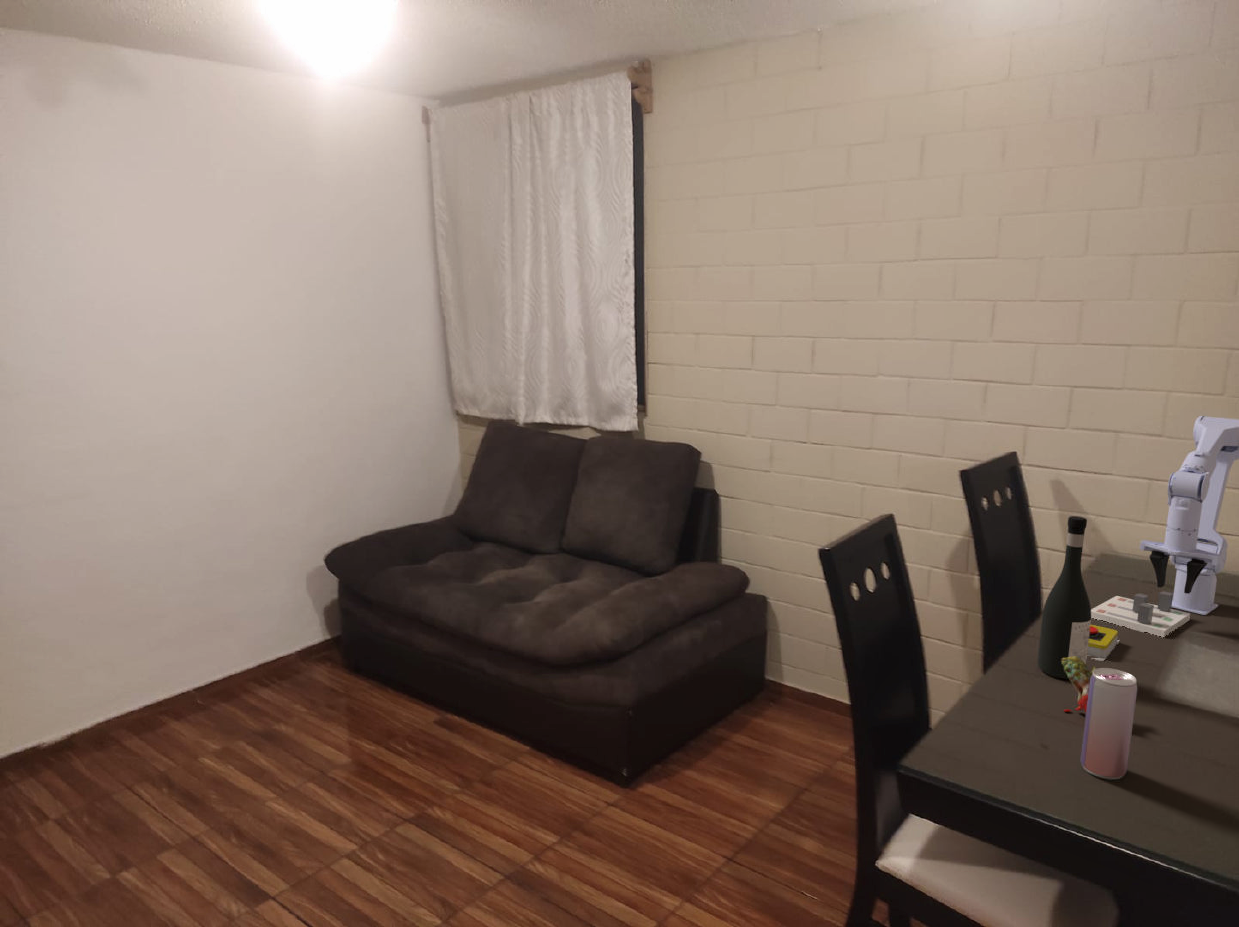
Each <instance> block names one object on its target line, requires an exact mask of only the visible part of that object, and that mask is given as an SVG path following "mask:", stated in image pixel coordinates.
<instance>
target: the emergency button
mask: <svg viewBox="0 0 1239 927" xmlns="http://www.w3.org/2000/svg"><path fill="white" fill-rule="evenodd" d="M1118 634H1119V632H1118V630H1116V629H1113V628H1108V627H1104V626H1098V625H1094V624H1091V625H1090V633H1089V642H1088V650H1087V656H1095V657H1098V658H1091V659H1090V660H1092V659H1095V660H1094V661H1097V660H1098V662H1104V660H1105V659H1106V660H1107V658H1108V657H1109V656H1110V655H1109V654H1111V653H1112V652H1113V651H1114V649H1116V647H1117V646H1116V644H1117V645H1118V644H1119V643H1120V642H1121V641H1120V639H1119V640H1117V639H1118V636H1119V635H1118ZM1119 641H1120V642H1119ZM1115 646H1116V647H1115ZM1112 650H1113V651H1112ZM1111 651H1112V652H1111ZM1110 652H1111V653H1110ZM1108 655H1109V656H1108ZM1107 656H1108V657H1107ZM1106 657H1107V658H1106ZM1106 660H1105V661H1106Z"/></svg>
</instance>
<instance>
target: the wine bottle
mask: <svg viewBox="0 0 1239 927" xmlns="http://www.w3.org/2000/svg"><path fill="white" fill-rule="evenodd" d="M1087 522H1088V519H1087V518H1086V517H1083V516H1079V515H1078V516H1077V515H1072V516H1069V517H1068V519H1067V534H1066V535H1067V537H1066V546H1065V556H1064V557H1065V558H1064V562H1063V563H1064V564H1063V566H1062V569H1061V571H1060V574H1059V576H1058V578H1057V579H1056V581H1055V583H1054V585H1053V587H1052V588H1051V590H1050V592H1049V594H1048V596H1047V597H1046V599H1045V600H1046V601H1045V603H1044V605H1043V610H1042V617H1041V625H1040V635H1039V645H1038V651H1037V652H1038V654H1037V666H1038V668H1039V669H1040V671H1042V672H1044V673H1045V674H1046V675H1049V676H1051V677H1054V678H1058V679H1064V680H1070V679H1069V678H1068V676H1067V674H1066V673H1065V671H1064V666H1063V665H1062V663H1061V659H1062V658H1068V657H1074V656H1077V657H1078V658H1080V659H1081V660H1082V661H1083V662H1084V663H1085V664H1087V659H1088V658H1087V650H1088V642H1089V633H1090V625H1092V624H1091V623H1092V618H1091V609H1092V607H1091V602H1090V599H1089V598H1090V597H1089V596H1088V593H1087V589H1086V585H1085V583H1084V579H1083V575H1082V555H1083V549H1084V548H1083V547H1084V542H1085V540H1084V539H1085V531H1086V528H1087Z"/></svg>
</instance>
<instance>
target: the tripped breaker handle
mask: <svg viewBox="0 0 1239 927" xmlns="http://www.w3.org/2000/svg"><path fill="white" fill-rule="evenodd" d="M1133 600H1134V602H1133V610H1132V611H1134V612H1138V611H1139V605H1140V604H1142V603H1148V601H1149V595H1148V594H1143V593H1136V594H1134V597H1133Z"/></svg>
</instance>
